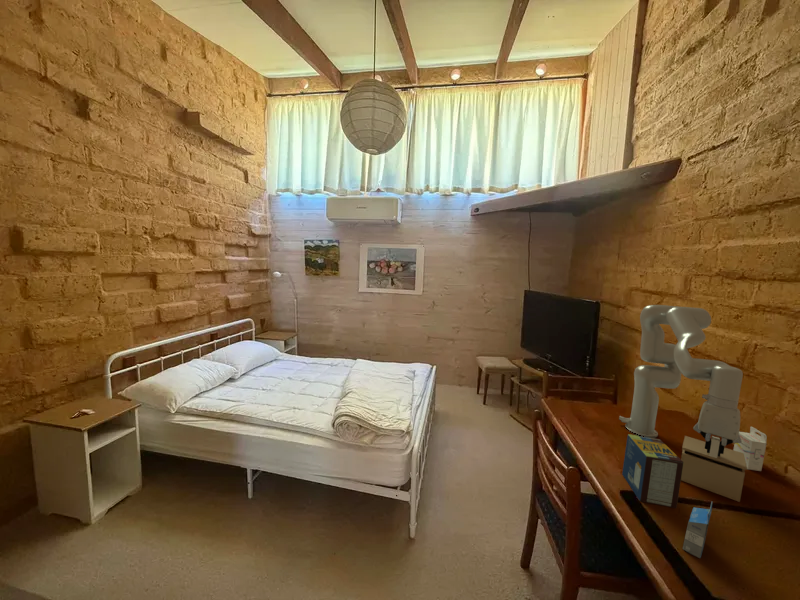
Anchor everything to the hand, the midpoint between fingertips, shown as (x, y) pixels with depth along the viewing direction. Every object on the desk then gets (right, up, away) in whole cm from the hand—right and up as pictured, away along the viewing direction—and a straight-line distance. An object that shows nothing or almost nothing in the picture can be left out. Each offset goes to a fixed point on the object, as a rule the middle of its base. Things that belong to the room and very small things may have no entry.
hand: (713, 452), depth 119 cm
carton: (+3, -12, +6) cm, 14 cm away
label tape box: (-29, -14, -26) cm, 41 cm away
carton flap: (+4, -2, +5) cm, 6 cm away
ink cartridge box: (+30, -13, +19) cm, 38 cm away
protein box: (-25, -12, -2) cm, 27 cm away
